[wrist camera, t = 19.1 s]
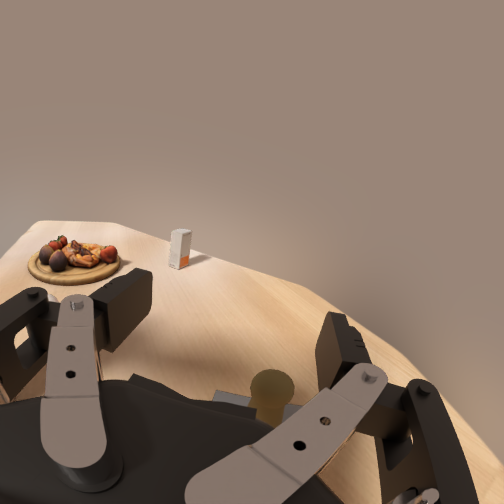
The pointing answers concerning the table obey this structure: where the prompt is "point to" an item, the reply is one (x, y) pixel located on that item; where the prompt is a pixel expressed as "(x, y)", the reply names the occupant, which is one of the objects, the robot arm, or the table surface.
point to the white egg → (52, 298)
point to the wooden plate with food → (73, 262)
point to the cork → (271, 395)
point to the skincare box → (180, 248)
